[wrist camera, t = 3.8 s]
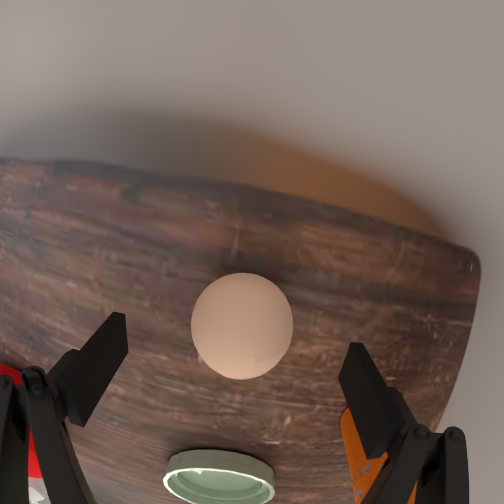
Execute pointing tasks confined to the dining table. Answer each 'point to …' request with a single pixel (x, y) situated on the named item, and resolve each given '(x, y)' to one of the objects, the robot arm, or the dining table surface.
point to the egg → (242, 325)
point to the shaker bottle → (361, 460)
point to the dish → (219, 478)
